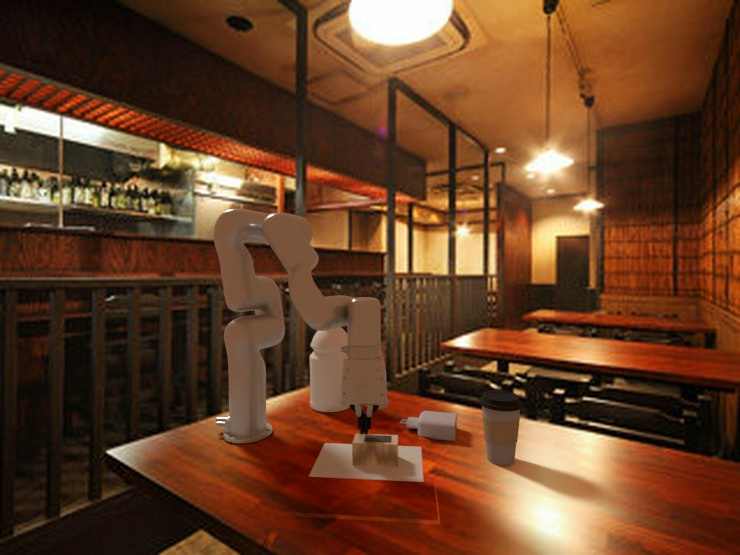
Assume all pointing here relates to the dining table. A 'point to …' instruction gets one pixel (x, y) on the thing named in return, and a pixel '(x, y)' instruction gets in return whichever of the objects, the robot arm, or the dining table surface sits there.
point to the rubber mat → (339, 465)
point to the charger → (434, 425)
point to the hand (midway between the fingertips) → (364, 431)
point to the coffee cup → (500, 425)
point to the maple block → (375, 450)
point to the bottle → (327, 370)
